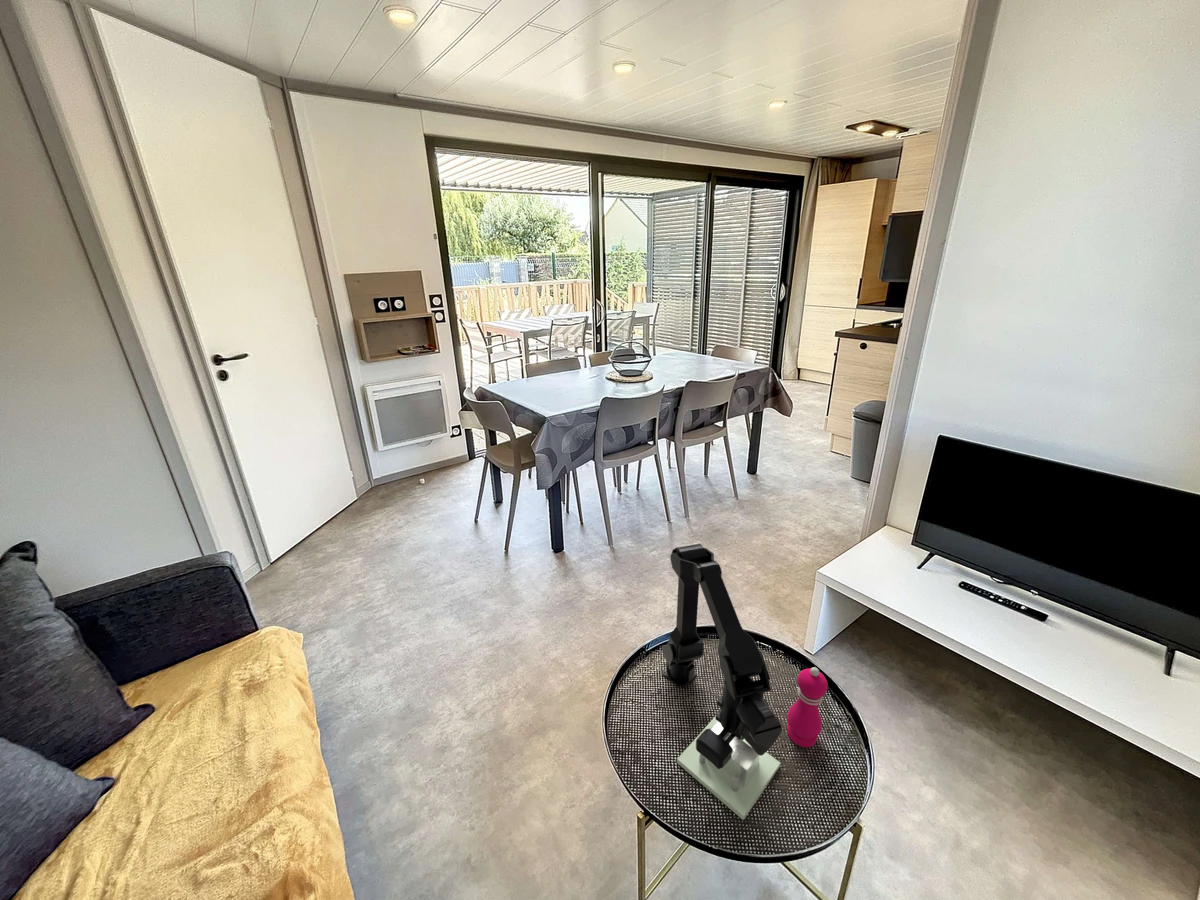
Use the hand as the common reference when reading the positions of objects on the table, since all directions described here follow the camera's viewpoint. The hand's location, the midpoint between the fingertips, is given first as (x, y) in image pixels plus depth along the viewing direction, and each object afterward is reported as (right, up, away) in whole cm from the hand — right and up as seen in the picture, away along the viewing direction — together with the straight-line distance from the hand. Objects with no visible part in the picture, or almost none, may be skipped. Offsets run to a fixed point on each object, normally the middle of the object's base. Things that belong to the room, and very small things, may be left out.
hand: (729, 752), depth 102 cm
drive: (0, -2, +1) cm, 3 cm away
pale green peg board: (0, -3, +1) cm, 4 cm away
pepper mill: (+18, -1, +8) cm, 20 cm away
